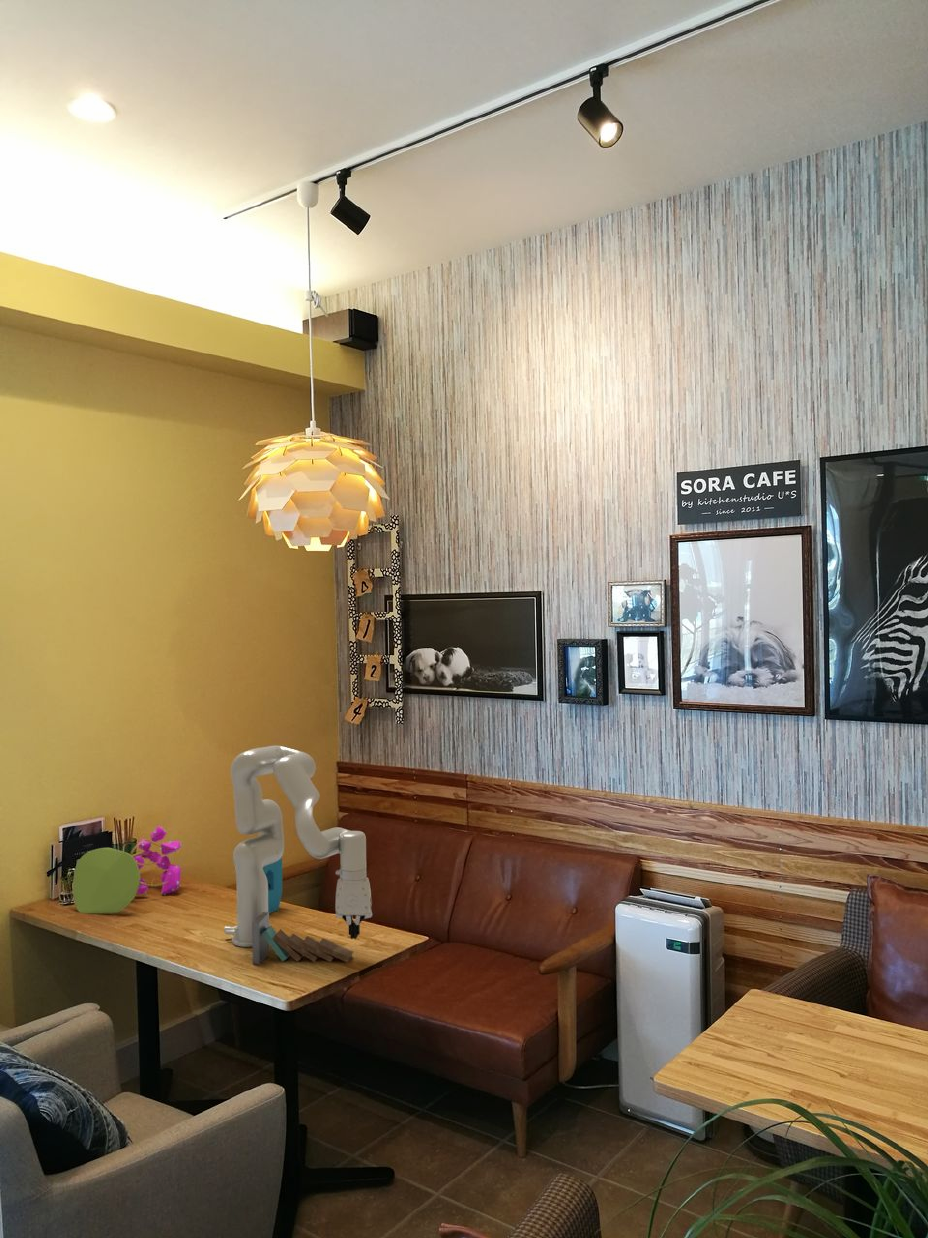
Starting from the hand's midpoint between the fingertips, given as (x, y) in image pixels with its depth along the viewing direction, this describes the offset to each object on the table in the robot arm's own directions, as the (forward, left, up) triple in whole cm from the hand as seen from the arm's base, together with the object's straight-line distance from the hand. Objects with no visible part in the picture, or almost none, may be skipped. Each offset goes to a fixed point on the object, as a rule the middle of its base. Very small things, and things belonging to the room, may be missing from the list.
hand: (354, 937), depth 278 cm
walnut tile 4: (-16, 0, -6) cm, 17 cm away
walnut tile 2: (-6, 0, -6) cm, 8 cm away
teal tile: (-20, 0, -6) cm, 21 cm away
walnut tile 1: (-1, 0, -6) cm, 6 cm away
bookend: (-28, 0, -7) cm, 29 cm away
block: (-40, +45, -7) cm, 61 cm away
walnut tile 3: (-11, 0, -6) cm, 12 cm away
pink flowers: (-92, +58, -7) cm, 109 cm away
